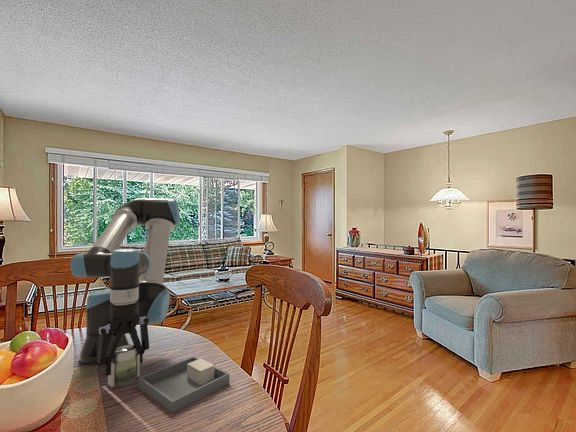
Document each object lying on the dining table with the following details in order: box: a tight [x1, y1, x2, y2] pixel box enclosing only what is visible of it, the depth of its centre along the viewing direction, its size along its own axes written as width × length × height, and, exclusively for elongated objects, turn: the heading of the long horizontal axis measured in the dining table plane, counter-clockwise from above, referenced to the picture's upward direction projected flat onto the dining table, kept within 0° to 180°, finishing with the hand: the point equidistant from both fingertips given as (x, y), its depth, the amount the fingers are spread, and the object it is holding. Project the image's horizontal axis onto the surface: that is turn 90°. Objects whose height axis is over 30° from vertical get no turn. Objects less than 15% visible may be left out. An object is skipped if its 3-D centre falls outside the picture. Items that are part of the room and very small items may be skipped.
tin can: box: [112, 344, 137, 388], centre depth 91 cm, size 6×6×10 cm
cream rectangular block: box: [187, 358, 215, 385], centre depth 93 cm, size 7×5×4 cm
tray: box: [137, 355, 230, 414], centre depth 88 cm, size 18×18×4 cm
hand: (124, 379), depth 91 cm, fingers closed on tin can, 6 cm apart
